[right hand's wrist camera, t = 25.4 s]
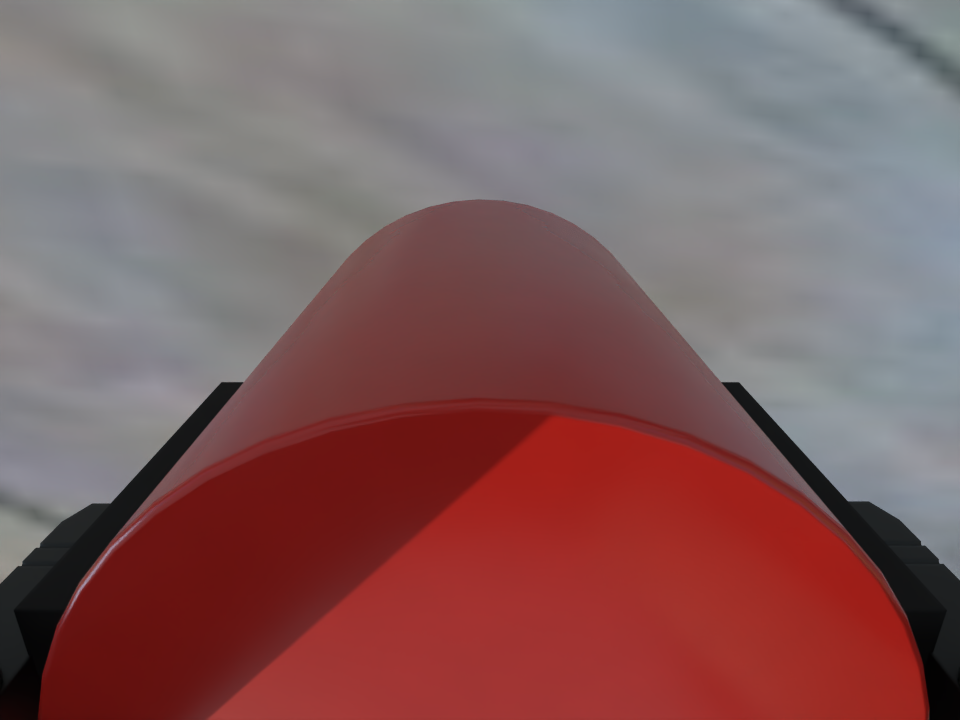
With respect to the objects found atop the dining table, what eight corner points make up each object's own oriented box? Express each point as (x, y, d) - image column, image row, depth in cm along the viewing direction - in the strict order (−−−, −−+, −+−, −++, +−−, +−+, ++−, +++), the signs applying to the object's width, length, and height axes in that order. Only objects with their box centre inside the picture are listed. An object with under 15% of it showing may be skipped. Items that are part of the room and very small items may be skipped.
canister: (256, 433, 18) (-61, 904, 8) (405, 126, 15) (230, 188, 5) (540, 564, 20) (610, 1103, 9) (724, 310, 17) (1140, 669, 6)
